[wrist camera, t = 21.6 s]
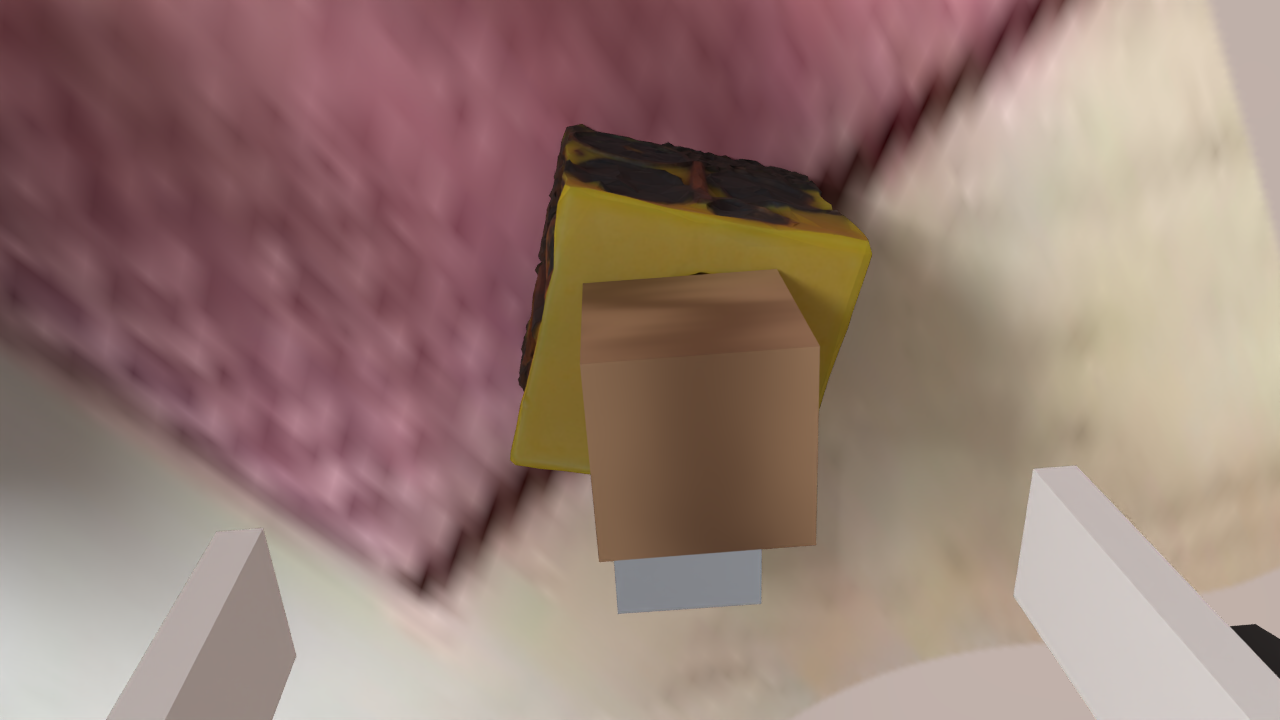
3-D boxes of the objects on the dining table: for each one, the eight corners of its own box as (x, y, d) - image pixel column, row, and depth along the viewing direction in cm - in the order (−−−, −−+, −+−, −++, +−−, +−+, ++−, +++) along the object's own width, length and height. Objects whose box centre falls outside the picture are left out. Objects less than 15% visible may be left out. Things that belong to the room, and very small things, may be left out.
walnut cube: (598, 452, 31) (599, 562, 26) (582, 283, 29) (579, 364, 23) (777, 439, 31) (816, 545, 26) (776, 268, 29) (819, 346, 23)
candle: (520, 350, 40) (499, 470, 31) (561, 117, 36) (549, 177, 27) (747, 390, 41) (790, 516, 32) (810, 169, 38) (880, 242, 28)
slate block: (614, 530, 44) (618, 614, 39) (606, 419, 42) (609, 491, 36) (740, 521, 44) (761, 603, 39) (739, 410, 42) (762, 481, 36)
